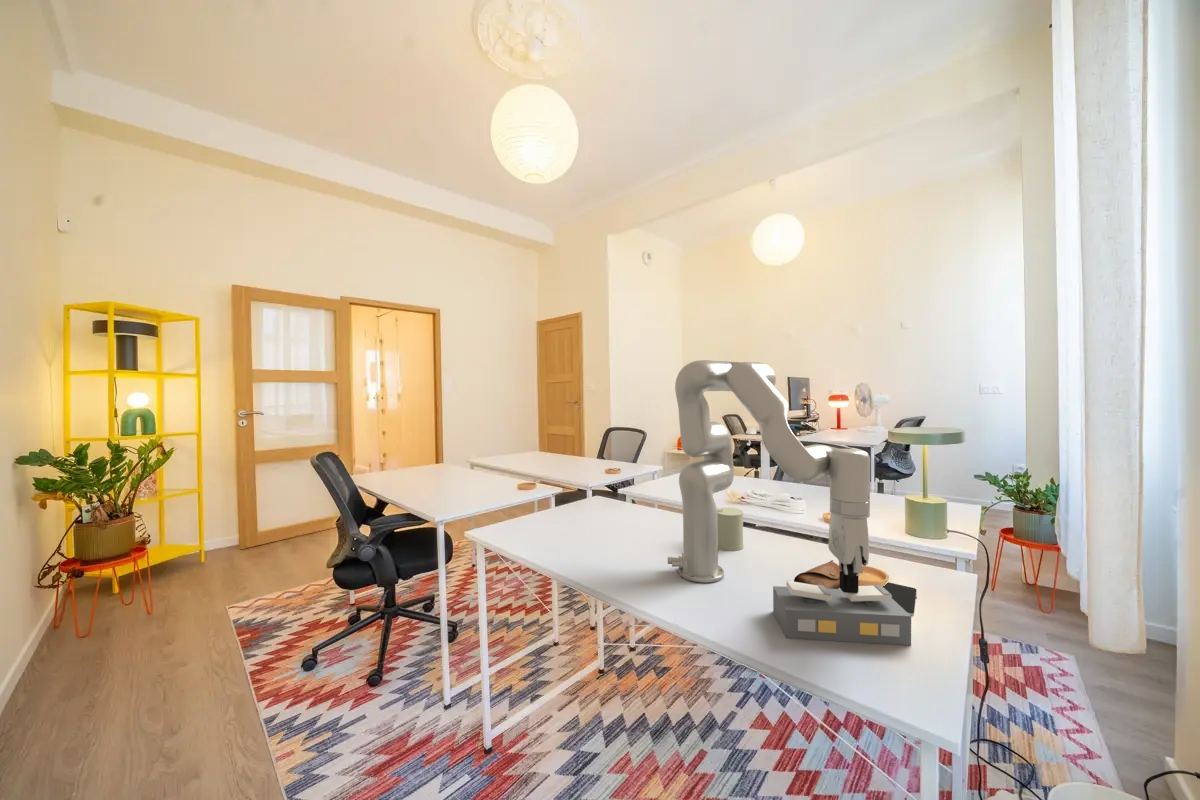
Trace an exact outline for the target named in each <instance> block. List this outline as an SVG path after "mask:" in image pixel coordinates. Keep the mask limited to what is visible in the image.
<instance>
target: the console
mask: <svg viewBox="0 0 1200 800" xmlns="http://www.w3.org/2000/svg"><path fill="white" fill-rule="evenodd" d="M827 591H828V592H829V593H830V594H831V596H832V598H831V601H826V600H820V599H814V598H808V597H802V596H796V595H792V594H791V593H790V591H789V589H788V588H787V586H779V585H772V593H773V594H772V603H773V605H772V608H773V614H774V616H775V618H776V620H777V622H778V624H779V626H780V629H781V630H782V633H783V634H784V636H785V638H786V639H796V640H798V639H799V640H812V641H815V640H817V641H830V642H844V643H845V642H846V643H847V642H848V643H860V644H861V643H863V644H864V643H865V644H880V645H894V646H895V645H896V646H909V647H910V646H912V616H910V615H909V614H908V613H907V612H906V611H905V610H904V609H903V608H902V607H901V606H900V605H899V604H898V603H896V602H895V601H894V600H893V599H892V601H850V599H849V598H848V597H847V596H846V595H845V594H844V593H843V591H842V590H841V589H840V588H839V589H827Z"/></svg>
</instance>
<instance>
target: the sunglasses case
mask: <svg viewBox="0 0 1200 800" xmlns="http://www.w3.org/2000/svg"><path fill="white" fill-rule="evenodd" d="M840 571H841V570H840V569H839V564H838V563H836V562H834V560H833V559H831V560H830V561H828V562H826V563H822V564H820V565H818V566H815V567H813V568H811V569H809V570H807V571H804V572H800V573H799V574H797V575H796V576H795V577H794V579H793V582H799V583H805V584H811V585H823V586H824V587H825V588H826V589H840Z"/></svg>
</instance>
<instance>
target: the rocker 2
mask: <svg viewBox="0 0 1200 800" xmlns="http://www.w3.org/2000/svg"><path fill="white" fill-rule="evenodd" d="M843 593H844V594H845V595H846V596H847V597H848V598H849V599H850V601H892V595H891V594H890V593H889V592H888V591H887V590H886V589H885V588H883V587H882V586H881V585H879V584H874V585H858V593H845V592H843Z"/></svg>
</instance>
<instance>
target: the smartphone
mask: <svg viewBox="0 0 1200 800" xmlns="http://www.w3.org/2000/svg"><path fill="white" fill-rule="evenodd" d="M887 582H888V583H887V584H886V585H885V586H883V588H885V589H886V590H887V591H888V592H889V593H890V594H891V595H892V599H893V600H894V601H895V602H896V603H898V604H899V605H900V606H901V607H902V608H903V609H904V610H905V611H906V612H907V613H908V614H909V615H910V616H911V617H914V616H915V611H916V610H915V609H916V602H917V601H916V599H918V598H917V597H918V592H917V591H918V590H917V589H916V588H915V587H911V586H907V585H902V584H897V583H894V582H889V581H887Z"/></svg>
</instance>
